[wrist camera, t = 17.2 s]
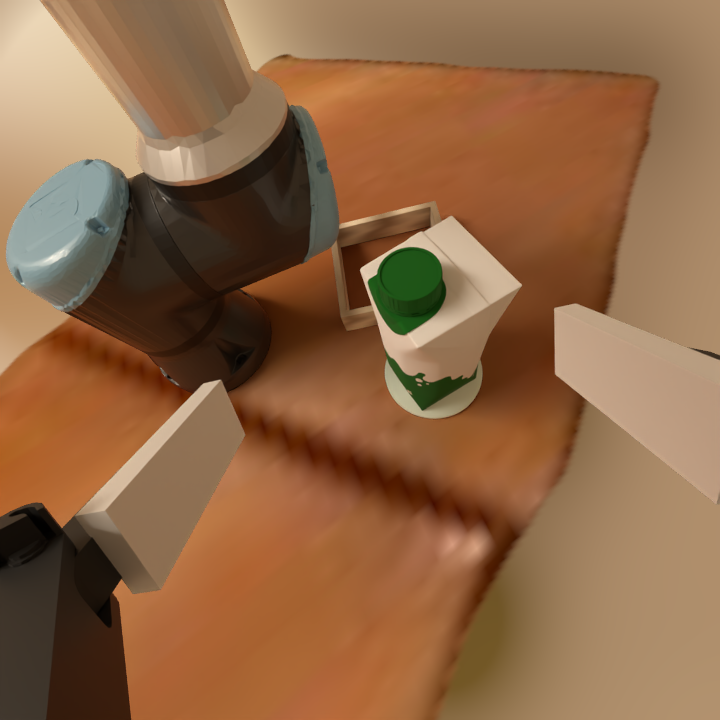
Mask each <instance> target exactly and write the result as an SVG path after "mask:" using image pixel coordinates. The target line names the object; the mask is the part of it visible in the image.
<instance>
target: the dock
mask: <svg viewBox="0 0 720 720" xmlns="http://www.w3.org/2000/svg"><path fill="white" fill-rule="evenodd" d="M440 222H441V218H440V215H439V211H438V208H437V205H436V202H435V201H432V202H428V203H424V204H420V205H416V206H412V207H408V208H404V209H400V210H396V211H392V212H388V213H383V214H379V215H375V216H371V217H367V218H363V219H359V220H355V221H351V222H347V223H343V224H339V234H338V237H337V240H336V242H335V243H334V244H333V246H331V248H332V255H333V263H334V271H335V278H336V286H337V293H338V301H339V308H340V316H341V319H342V322H343V324H344V326H345V328H346V330H347V331H350V330H355V329H360V328H365V327H369V326H374V325H378V322H377V319H376V316H375V313H374V310H373V307H372V305H371V306H366V307H361V308H357V309H352V310H350V307H349V300H348V293H347V286H346V279H345V273H344V266H343V259H342V252H341V247H345V246H349V245H354V244H358V243H362V242H366V241H370V240H375V239H379V238H383V237H387V236H391V235H396V234H400V233H404V232H408V231H413V230H417V229H421V228H425V227H429V226H430V228H431V227H433V226H435V225H436V224H438V223H440Z"/></svg>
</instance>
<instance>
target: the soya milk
mask: <svg viewBox="0 0 720 720" xmlns="http://www.w3.org/2000/svg"><path fill="white" fill-rule="evenodd" d="M360 272H361V275H362V278H363V280H364V283H365V286H366V289H367V292H368V295H369V298H370V301H371V304H372V307H373V310H374V313H375V316H376V319H377V322H378V326H379V330H380V334H381V337H382V341H383V345H384V349H385V352H386V356H387V360H388V363H389V365H390V367H391V368H392V370H393V372H394V373H395V375H396V376H397V378H398V379H399V381H400V382H401V383H402V385H403V386H404V388H405V389H406V390H407V392H408V393H409V394H410V396H411V397H412V398H413V399H414V401H415V402H416V403H417V405H418V406H419V407H420V409H421V410H422V411H423V410H425V409H427V408H428V407H430V406H432V405H433V404H435V403H436V402H438V401H440V400H441V399H443V398H445V397H446V396H448V395H449V394H451V393H453V392H454V391H456V390H458V389H459V388H461V387H462V386H464V385H466V384H467V383H469V382H471V381H472V380H474V379H475V378H476V375H477V368H478V362H479V360H480V357H481V355H482V352H483V350H484V347H485V345H486V342H487V339H488V337H489V335H490V333H491V331H492V330H493V328H494V327H495V325H496V324H497V322H498V320H499V319H500V317H501V316H502V314H503V313H504V311H505V310H506V308H507V307H508V305H509V304H510V302H511V301H512V299H513V298H514V296H515V295H516V294H517V292H518V291H519V289H520V288H521V286H522V285H521V284H520V282H518V281H517V280H516V279H515V278H514V277H513V276H512V275H511V274H510V273H509V272H508V271H507V270H506V269H505V268H504V267H503V266H502V265H501V264H500V263H499V262H498V261H497V260H496V259H495V258H494V257H493V256H492V255H491V254H490V253H489V252H488V251H487V250H486V249H485V248H484V247H483V246H482V245H481V244H480V243H479V242H478V241H477V240H476V239H475V238H474V237H473V236H472V235H471V234H470V233H469V232H468V231H467V230H466V229H465V228H464V227H463V226H462V225H461V224H460V223H459V222H458V221H457V220H456V219H455V218H454V217H453V216H450V217H448V218H447V219H445V220H443V221H441V222H440V223H438V224H436V225H435V226H433V227H431V228H429V229H428V230H426V231H424V232H422V231H421V232H418V233H417V234H415V235H413V236H412V237H410V238H409V239H408V240H406V241H405V242H403V243H401V244H400V245H398V246H396V247H395V248H393V249H391V250H390V251H388V252H386V253H385V254H383V255H381V256H380V257H378V258H376V259H375V260H373V261H371V262H370V263H368V264H366V265H365V266H363V267H362V268H361V269H360Z"/></svg>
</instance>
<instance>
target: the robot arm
mask: <svg viewBox="0 0 720 720" xmlns="http://www.w3.org/2000/svg"><path fill="white" fill-rule="evenodd" d="M40 1H41V2H42V4H43V5H44V6H45V8H46V9H47V10H48V12H49V13H50V14H51V16H52V17H53V18H54V20H55V21H56V22H57V23H58V25H59V26H60V27H61V29H62V30H63V31H64V32H65V34H66V35H67V36H68V38H69V39H70V40H71V42H72V43H73V44H74V46H75V47H76V48H77V50H78V51H79V52H80V53H81V55H82V56H83V57H84V58H85V60H86V61H87V63H88V64H89V65H90V67H91V68H92V69H93V70H94V72H95V73H96V74H97V75H98V77H99V78H100V80H101V81H102V82H103V83H104V85H105V86H106V87H107V89H108V90H109V91H110V93H111V94H112V95H113V97H114V98H115V99H116V100H117V102H118V103H119V104H120V106H121V107H122V108H123V110H124V111H125V112H126V113H127V115H128V116H129V117H130V119H131V120H132V121H133V123H134V124H135V125H136V127H137V129H138V133H137V144H136V157H137V161H138V164H139V165H140V167H141V168H142V170H143V171H144V172H143V173H141V174H139V175H136V176H134V177H132V178H129V179H127V178H126V177H125V174H124V173H123V172H122V171H121V170H120V169H119V168H116V167H114V166H113V165H111V164H110V163H108V162H106V161H104V160H99V159H95V160H82V161H79V162H76V163H74V164H71V165H69V166H67V167H65V168H64V169H62V170H61V171H59V172H58V173H56V174H55V175H54V176H52V177H51V178H50V179H48V180H47V181H46V182H45V183H44V184H43V185H42V186H41V187H40V188H39V189H38V190H37V191H36V192H35V193H34V194H33V195H32V196H31V197H30V199H29V200H28V201H27V203H26V204H25V205H24V207H23V208H22V210H21V211H20V213H19V214H18V216H17V218H16V220H15V222H14V224H13V226H12V228H11V231H10V233H9V237H8V240H7V246H6V260H7V264H8V268H9V270H10V272H11V274H12V275H13V277H14V278H15V279H16V281H18V282H19V283H20V284H21V285H22V286H23V287H25V288H27V289H28V290H29V291H31V292H33V293H34V294H36V295H38V296H40V297H41V298H43V299H44V300H46V301H48V302H50V303H51V304H52V305H53V307H54V308H56V309H58V310H60V311H63V312H65V313H67V314H69V315H71V316H73V317H75V318H77V319H79V320H81V321H83V322H85V323H87V324H89V325H91V326H93V327H95V328H97V329H99V330H101V331H103V332H105V333H107V334H109V335H111V336H113V337H115V338H117V339H119V340H121V341H123V342H125V343H127V344H129V345H130V346H132V347H134V348H136V349H138V350H140V351H142V352H144V353H146V354H148V356H149V357H150V358H151V359H152V361H153V362H154V363H155V364H156V365H157V366H159V368H160V370H161V371H162V373H163V374H164V376H165V377H166V378H167V379H168V380H169V381H170V382H172V383H173V384H174V385H176V386H178V387H180V388H182V389H184V390H186V391H188V392H190V393H193V395H192V396H191V397H190V398H189V399H188V400H187V401H186V402H185V403H184V404H183V405H182V406H181V407H180V408H179V409H178V410H177V411H176V412H175V413H174V414H173V415H172V416H171V417H170V418H169V419H168V420H167V421H166V422H165V423H164V425H163V426H162V427H161V428H160V429H159V430H158V431H157V432H156V433H155V434H154V435H153V436H152V437H151V438H150V439H149V440H148V441H147V442H146V443H145V444H144V445H143V446H142V447H141V448H140V449H139V450H138V451H137V452H136V453H135V454H134V455H133V456H132V457H131V458H130V459H129V460H128V462H127V463H126V464H125V465H124V466H123V467H121V468H120V469H119V470H118V471H117V472H116V473H115V474H114V475H113V476H112V478H111V479H110V480H109V481H108V482H107V483H106V484H105V485H104V486H103V487H102V488H101V489H100V490H99V491H98V492H97V493H96V494H95V495H94V496H93V497H92V498H91V499H90V500H89V501H88V502H87V503H86V504H85V505H84V506H83V507H82V508H81V509H80V510H79V511H78V512H77V513H76V514H75V515H74V517H73V518H72V519H71V520H70V521H69V522H68V523H67V524H66V525H65V526H64V527H63V528H61V527H60V526H59V524H58V523H57V522H56V520H55V519H54V518H53V517H52V515H51V514H50V513H49V512H48V510H47V509H46V508H45V506H44V505H43V504H42V503H31V504H28V505H24V506H22V507H19V508H17V509H15V510H12V511H10V512H9V513H7V514H5V515H3V516H1V517H0V720H131V714H130V704H129V694H128V685H127V675H126V665H125V656H124V646H123V636H122V627H121V617H120V607H119V602H118V600H117V598H116V597H115V596H114V594H113V593H112V592H113V591H114V589H115V588H116V586H117V585H118V583H119V582H120V580H121V579H122V580H123V581H124V583H125V584H126V585H127V587H128V588H129V589H130V591H131V592H132V593H133V594H137V593H144V592H150V591H157V590H161V588H162V586H163V585H164V583H165V581H166V579H167V577H168V575H169V574H170V572H171V570H172V568H173V566H174V564H175V563H176V561H177V559H178V557H179V555H180V553H181V552H182V550H183V548H184V546H185V544H186V542H187V541H188V539H189V537H190V535H191V533H192V532H193V530H194V528H195V526H196V524H197V522H198V521H199V519H200V517H201V515H202V513H203V511H204V510H205V508H206V506H207V504H208V502H209V500H210V499H211V497H212V495H213V493H214V491H215V489H216V488H217V486H218V484H219V482H220V480H221V478H222V477H223V475H224V473H225V471H226V469H227V468H228V466H229V464H230V462H231V460H232V458H233V457H234V455H235V453H236V451H237V449H238V447H239V446H240V444H241V442H242V440H243V438H244V436H245V433H244V431H243V429H242V426H241V424H240V422H239V420H238V417H237V415H236V413H235V410H234V408H233V406H232V404H231V401H230V399H229V397H228V394H227V391H230V390H232V389H234V388H236V387H237V386H239V385H241V384H242V383H243V382H245V381H246V380H247V379H248V378H249V377H251V376H252V375H253V373H254V372H255V371H256V370H257V369H258V368H259V366H260V365H261V363H262V362H263V360H264V358H265V356H266V354H267V351H268V349H269V345H270V341H271V325H270V321H269V318H268V315H267V313H266V312H265V310H264V309H263V308H262V307H261V305H260V304H259V303H258V302H257V301H256V300H255V299H254V298H253V297H252V296H251V295H250V294H248V293H247V292H245V291H243V290H241V289H240V288H243V287H245V286H247V285H250V284H252V283H255V282H257V281H260V280H262V279H264V278H267V277H269V276H272V275H274V274H277V273H279V272H281V271H284V270H286V269H289V268H291V267H294V266H296V265H298V264H303V263H305V262H307V261H308V260H309V259H310V258H312V257H314V256H315V255H317V254H319V253H321V252H323V251H325V250H327V249H329V248H330V247H331V246H333V244H334V243H335V242H336V240H337V237H338V234H339V212H338V205H337V199H336V194H335V189H334V184H333V180H332V176H331V173H330V171H329V169H328V168H327V160H326V156H325V151H324V148H323V145H322V142H321V139H320V136H319V133H318V131H317V128H316V126H315V124H314V122H313V120H312V118H311V116H310V114H309V113H308V111H307V110H306V109H305V108H303V107H302V106H293V105H291V106H290V107H289V105H288V103H287V100H286V98H285V95H284V92H283V91H282V89H281V87H280V86H279V85H278V84H277V83H275V82H274V81H272V80H271V79H269V78H267V77H265V76H263V75H261V74H259V73H258V72H256V71H254V70H252V69H251V67H250V64H249V62H248V59H247V57H246V54H245V52H244V49H243V47H242V44H241V42H240V39H239V37H238V34H237V32H236V29H235V27H234V24H233V22H232V20H231V17H230V14H229V12H228V9H227V7H226V4H225V2H224V0H40ZM554 326H555V375H557V376H558V377H559V378H560V379H562V380H563V381H564V382H565V383H567V384H568V385H569V386H570V387H571V388H573V389H574V390H575V391H576V392H578V393H579V394H580V395H581V396H583V397H584V398H585V399H586V400H588V401H589V402H590V403H591V404H593V405H594V406H595V407H596V408H598V409H599V410H600V411H601V412H602V413H604V414H605V415H606V416H608V417H609V418H610V419H611V420H612V421H614V422H615V423H616V424H617V425H619V426H620V427H621V428H622V429H624V430H625V431H626V432H627V433H628V434H630V435H631V436H632V437H633V438H635V439H636V440H637V441H639V442H640V443H641V444H642V445H643V446H645V447H646V448H647V449H648V450H650V451H651V452H652V453H653V454H655V455H656V456H657V457H658V458H659V459H661V460H662V461H663V462H664V463H666V464H667V465H668V466H669V467H671V468H672V469H673V470H674V471H676V472H677V473H678V474H679V475H680V476H682V477H683V478H684V479H685V480H687V481H688V482H689V483H690V484H692V485H693V486H694V487H695V488H697V489H698V490H699V491H700V492H702V493H703V494H704V495H705V496H707V497H708V498H709V499H710V500H711V501H713V502H714V503H715V504H720V355H717V354H715V353H712V352H708V351H703V350H698V349H693V348H688V347H685V346H682V345H680V344H677V343H675V342H672V341H670V340H667V339H665V338H662V337H659V336H657V335H654V334H652V333H649V332H647V331H644V330H642V329H639V328H637V327H634V326H632V325H629V324H627V323H624V322H621V321H619V320H616V319H614V318H611V317H609V316H606V315H604V314H601V313H599V312H596V311H594V310H591V309H589V308H586V307H584V306H581V305H579V304H576V303H575V304H571V305H566V306H561V307H557V308H554Z"/></svg>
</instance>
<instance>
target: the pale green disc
mask: <svg viewBox="0 0 720 720" xmlns="http://www.w3.org/2000/svg"><path fill="white" fill-rule="evenodd" d="M482 375H483V372H482V365H481V361H480V360H479V362H478V368H477V375H476V378H475V379H474V380H472V381H471V382H469V383H467V384H466V385H464V386H462V387H461V388H459V389H458V390H456V391H454V392H453V393H451V394H449V395H448V396H446V397H445V398H443V399H441V400H440V401H438V402H436V403H435V404H433V405H432V406H430V407H428V408H427V409H425V410H423V411H422V410H421V409H420V407H419V406H418V405H417V403H416V402H415V401H414V399H413V398H412V397H411V396H410V394H409V393H408V392H407V390H406V389H405V388H404V386H403V385H402V383H401V382H400V381H399V379H398V378H397V376H396V375H395V373H394V372H393V370H392V368H391V367H390V365H389V363H388V360H386V365H385V380H386V384H387V387H388V390H389V392H390V394H391V396H392V397H393V399H394V400H395V401H396V403H397V404H398V405H399V406H400V407H402V408H403V409H404V410H406V411H407V412H409V413H411V414H413V415H416V416H418V417H422V418H427V419H441V418H447V417H450V416H453V415H456V414H457V413H459V412H461V411H463V410H464V409H465V408H467V407H468V406H469V405H470V404H471V403H472V401H473V400H474V399H475V397H476V395H477V393H478V392H479V389H480V386H481V383H482Z"/></svg>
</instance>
